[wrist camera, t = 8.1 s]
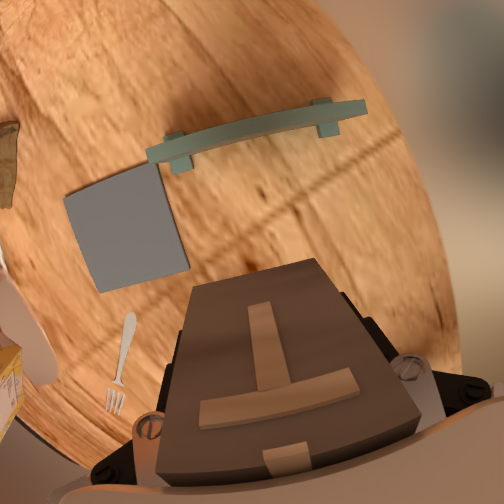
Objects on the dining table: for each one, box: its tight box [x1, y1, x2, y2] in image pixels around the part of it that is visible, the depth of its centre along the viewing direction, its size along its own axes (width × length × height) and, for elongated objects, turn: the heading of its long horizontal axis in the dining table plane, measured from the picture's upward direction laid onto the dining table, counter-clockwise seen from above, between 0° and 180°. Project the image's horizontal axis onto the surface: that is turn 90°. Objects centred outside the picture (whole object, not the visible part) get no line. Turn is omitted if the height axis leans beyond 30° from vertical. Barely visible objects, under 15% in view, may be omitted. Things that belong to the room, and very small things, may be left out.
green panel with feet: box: [145, 97, 368, 175], centre depth 22 cm, size 4×17×8 cm, turn 104°
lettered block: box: [155, 258, 422, 487], centre depth 8 cm, size 6×5×8 cm
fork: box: [106, 312, 137, 416], centre depth 34 cm, size 3×24×2 cm, turn 156°
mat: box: [63, 163, 190, 293], centre depth 28 cm, size 12×12×1 cm
